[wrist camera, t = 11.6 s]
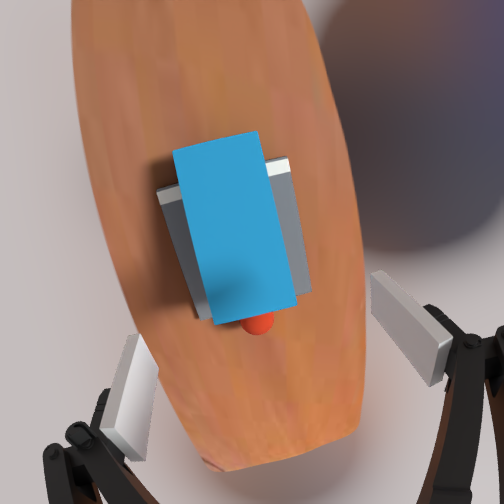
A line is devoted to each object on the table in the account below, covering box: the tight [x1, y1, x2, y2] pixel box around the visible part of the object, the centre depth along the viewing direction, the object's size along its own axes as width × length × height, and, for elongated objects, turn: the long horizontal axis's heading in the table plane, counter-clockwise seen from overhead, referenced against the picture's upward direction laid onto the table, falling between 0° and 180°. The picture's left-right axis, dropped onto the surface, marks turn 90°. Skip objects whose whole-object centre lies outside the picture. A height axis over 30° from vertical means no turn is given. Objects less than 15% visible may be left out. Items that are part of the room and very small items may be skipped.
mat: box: [156, 156, 312, 321], centre depth 29 cm, size 14×12×1 cm
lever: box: [172, 131, 297, 335], centre depth 27 cm, size 7×7×18 cm
